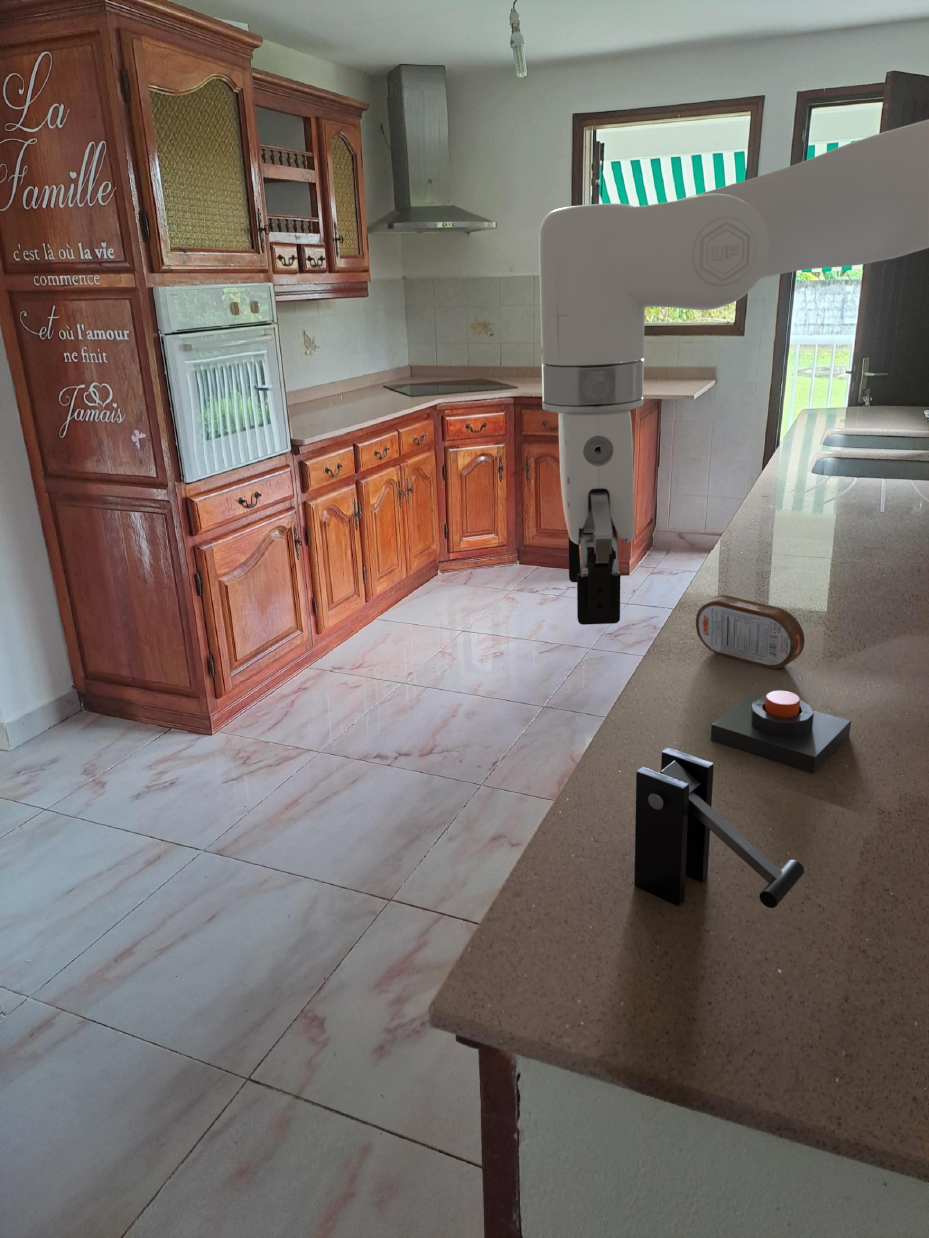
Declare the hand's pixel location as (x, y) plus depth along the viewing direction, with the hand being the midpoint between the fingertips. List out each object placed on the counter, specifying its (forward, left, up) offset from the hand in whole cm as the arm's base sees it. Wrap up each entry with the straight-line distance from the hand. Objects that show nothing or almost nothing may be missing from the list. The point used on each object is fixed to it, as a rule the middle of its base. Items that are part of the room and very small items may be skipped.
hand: (592, 600), depth 72 cm
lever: (-12, -1, -19) cm, 22 cm away
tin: (+9, -50, -26) cm, 57 cm away
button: (-4, -32, -23) cm, 39 cm away
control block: (-4, -32, -26) cm, 41 cm away
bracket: (-8, -1, -26) cm, 27 cm away
